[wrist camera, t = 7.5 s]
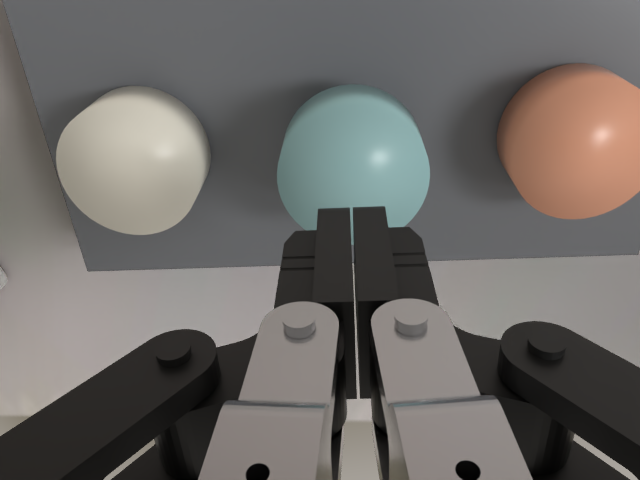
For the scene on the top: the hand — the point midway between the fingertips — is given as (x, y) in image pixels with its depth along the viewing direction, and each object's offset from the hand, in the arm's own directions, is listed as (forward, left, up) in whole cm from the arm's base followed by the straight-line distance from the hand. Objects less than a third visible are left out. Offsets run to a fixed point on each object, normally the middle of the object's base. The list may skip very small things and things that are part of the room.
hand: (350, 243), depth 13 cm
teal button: (0, 0, -6) cm, 6 cm away
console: (0, 0, -10) cm, 10 cm away
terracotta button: (-7, 0, -7) cm, 10 cm away
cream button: (+7, 0, -7) cm, 10 cm away
